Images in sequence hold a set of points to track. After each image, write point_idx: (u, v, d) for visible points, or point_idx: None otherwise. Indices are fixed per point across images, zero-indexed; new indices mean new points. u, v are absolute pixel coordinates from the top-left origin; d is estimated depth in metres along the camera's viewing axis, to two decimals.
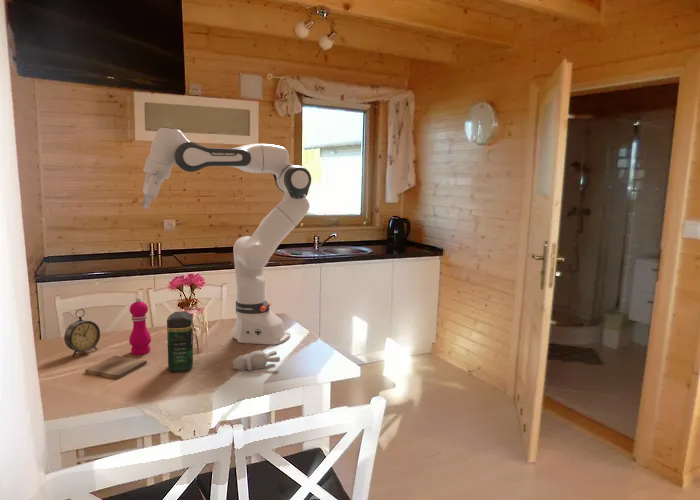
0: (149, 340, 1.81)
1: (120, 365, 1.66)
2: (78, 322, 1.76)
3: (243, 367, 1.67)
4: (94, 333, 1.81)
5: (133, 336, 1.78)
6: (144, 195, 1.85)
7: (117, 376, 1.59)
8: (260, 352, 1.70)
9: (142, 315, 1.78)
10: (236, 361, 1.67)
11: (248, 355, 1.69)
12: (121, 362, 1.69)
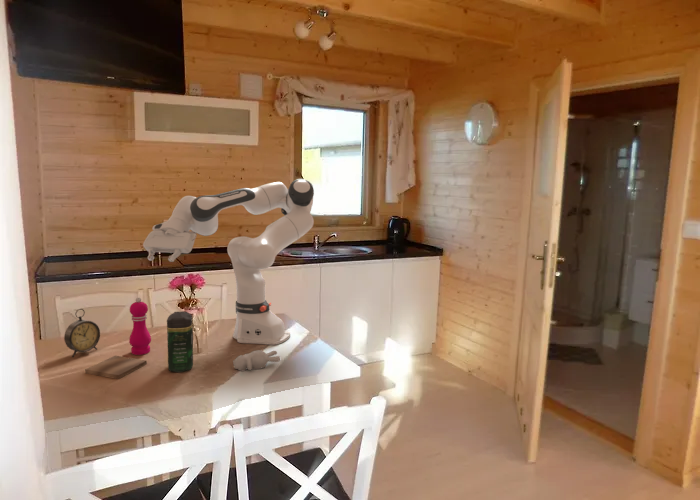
0: (149, 340, 1.81)
1: (120, 365, 1.66)
2: (78, 322, 1.76)
3: (243, 367, 1.67)
4: (94, 333, 1.81)
5: (133, 336, 1.78)
6: (151, 249, 1.92)
7: (117, 376, 1.59)
8: (260, 352, 1.71)
9: (142, 315, 1.78)
10: (236, 361, 1.68)
11: (248, 355, 1.69)
12: (121, 362, 1.69)
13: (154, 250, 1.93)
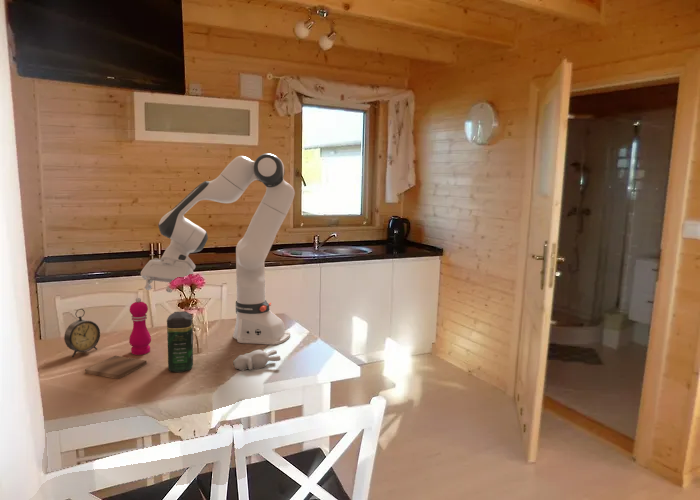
0: (149, 340, 1.81)
1: (120, 365, 1.66)
2: (78, 322, 1.76)
3: (244, 366, 1.67)
4: (94, 333, 1.81)
5: (133, 336, 1.78)
6: None
7: (117, 376, 1.59)
8: (260, 351, 1.71)
9: (142, 315, 1.78)
10: (237, 361, 1.68)
11: (249, 355, 1.70)
12: (121, 362, 1.69)
13: None
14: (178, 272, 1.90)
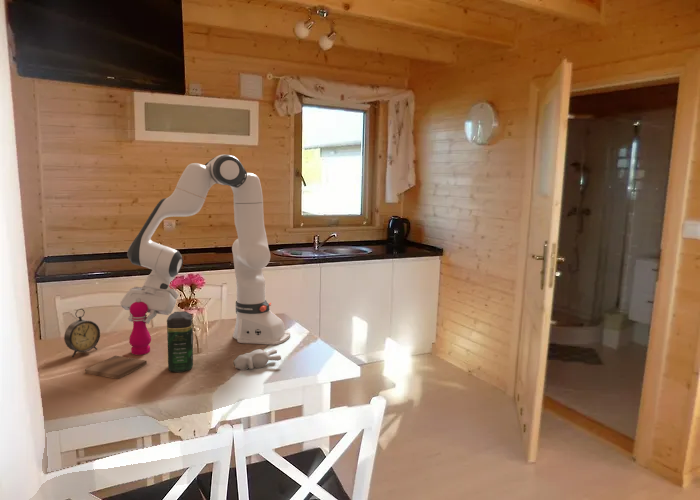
0: (149, 340, 1.81)
1: (120, 365, 1.66)
2: (78, 322, 1.76)
3: (244, 366, 1.68)
4: (94, 333, 1.81)
5: (133, 336, 1.78)
6: None
7: (117, 376, 1.59)
8: (261, 351, 1.72)
9: (142, 315, 1.78)
10: (237, 360, 1.68)
11: (249, 354, 1.70)
12: (121, 362, 1.69)
13: None
14: (159, 302, 1.80)
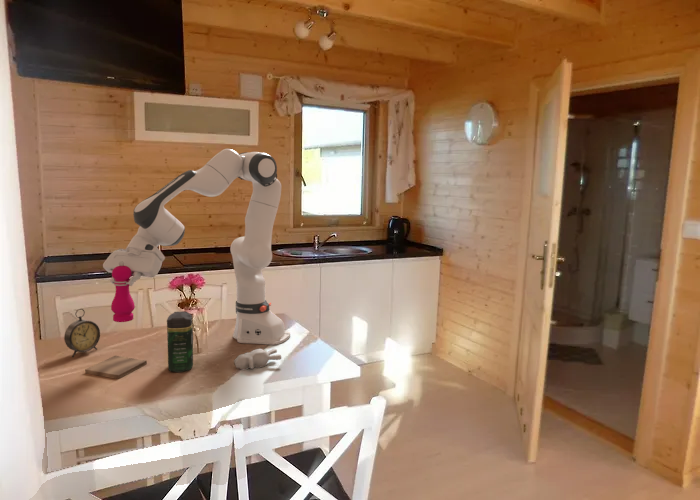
0: (132, 307, 1.69)
1: (120, 365, 1.66)
2: (78, 322, 1.76)
3: (245, 366, 1.68)
4: (94, 333, 1.81)
5: (115, 302, 1.67)
6: None
7: (117, 376, 1.59)
8: (261, 350, 1.72)
9: (125, 280, 1.67)
10: (238, 360, 1.68)
11: (249, 354, 1.70)
12: (121, 362, 1.69)
13: None
14: (144, 263, 1.69)
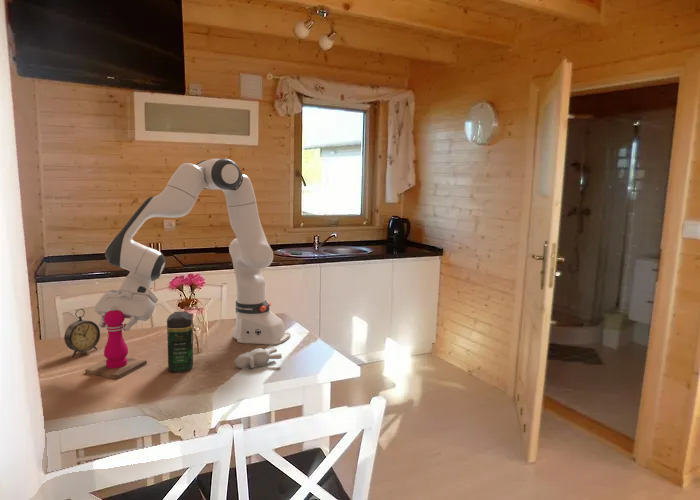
0: (126, 352, 1.65)
1: None
2: (78, 322, 1.76)
3: (246, 365, 1.69)
4: (94, 333, 1.81)
5: (108, 347, 1.63)
6: None
7: (117, 376, 1.59)
8: (261, 350, 1.73)
9: (118, 325, 1.63)
10: (238, 359, 1.69)
11: (250, 354, 1.71)
12: None
13: None
14: (137, 307, 1.65)
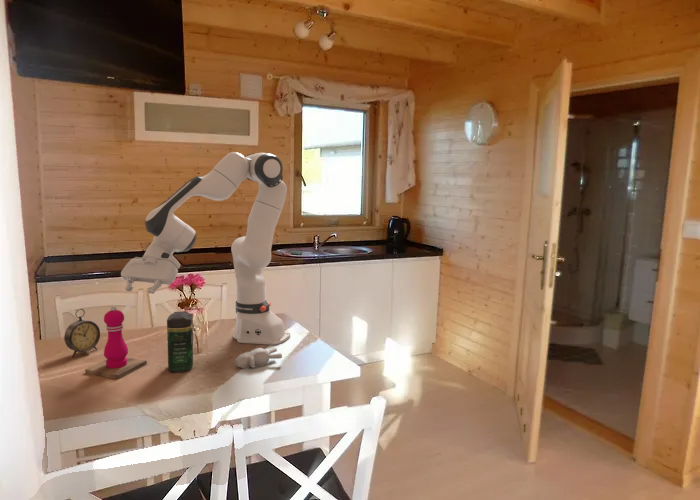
0: (125, 352, 1.65)
1: None
2: (78, 322, 1.76)
3: (246, 365, 1.69)
4: (94, 333, 1.81)
5: (107, 348, 1.63)
6: None
7: (117, 376, 1.59)
8: (262, 349, 1.73)
9: (117, 325, 1.63)
10: (239, 359, 1.69)
11: (250, 353, 1.71)
12: None
13: None
14: (161, 271, 1.75)
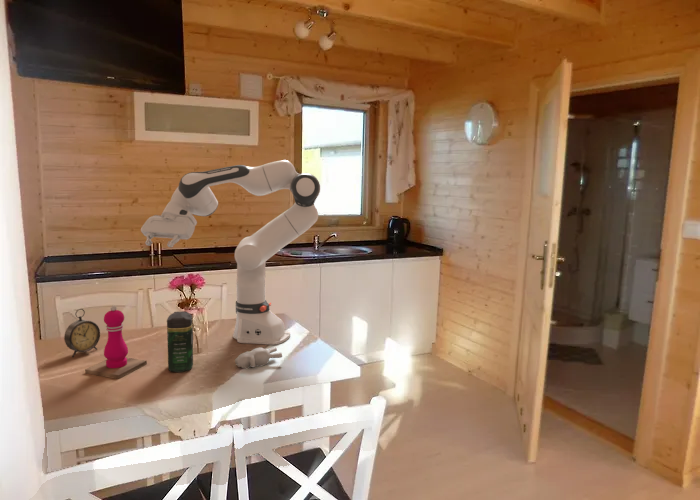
0: (125, 352, 1.65)
1: None
2: (78, 322, 1.76)
3: (247, 364, 1.69)
4: (94, 333, 1.81)
5: (107, 348, 1.63)
6: None
7: (117, 376, 1.59)
8: (262, 349, 1.73)
9: (117, 325, 1.63)
10: (239, 359, 1.69)
11: (250, 353, 1.72)
12: None
13: None
14: (179, 227, 1.85)
